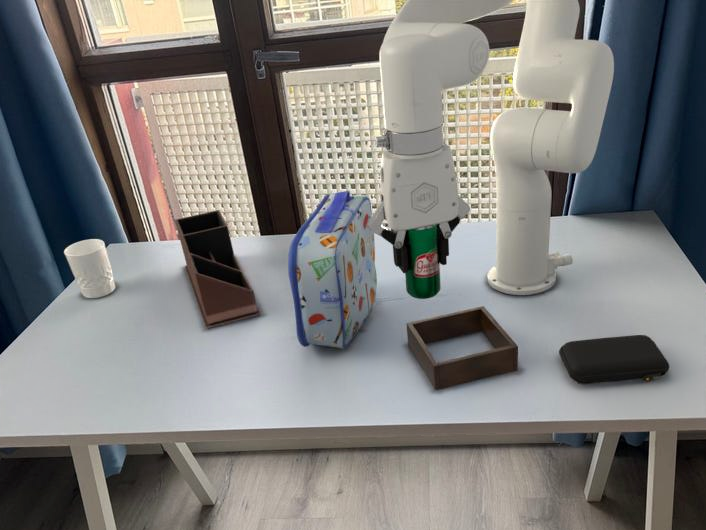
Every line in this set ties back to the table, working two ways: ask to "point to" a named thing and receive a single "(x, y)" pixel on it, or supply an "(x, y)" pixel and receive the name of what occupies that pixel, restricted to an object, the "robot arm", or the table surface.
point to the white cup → (91, 267)
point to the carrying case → (613, 359)
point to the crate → (466, 366)
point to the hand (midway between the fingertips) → (421, 264)
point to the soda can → (423, 262)
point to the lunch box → (333, 271)
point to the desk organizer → (215, 270)
